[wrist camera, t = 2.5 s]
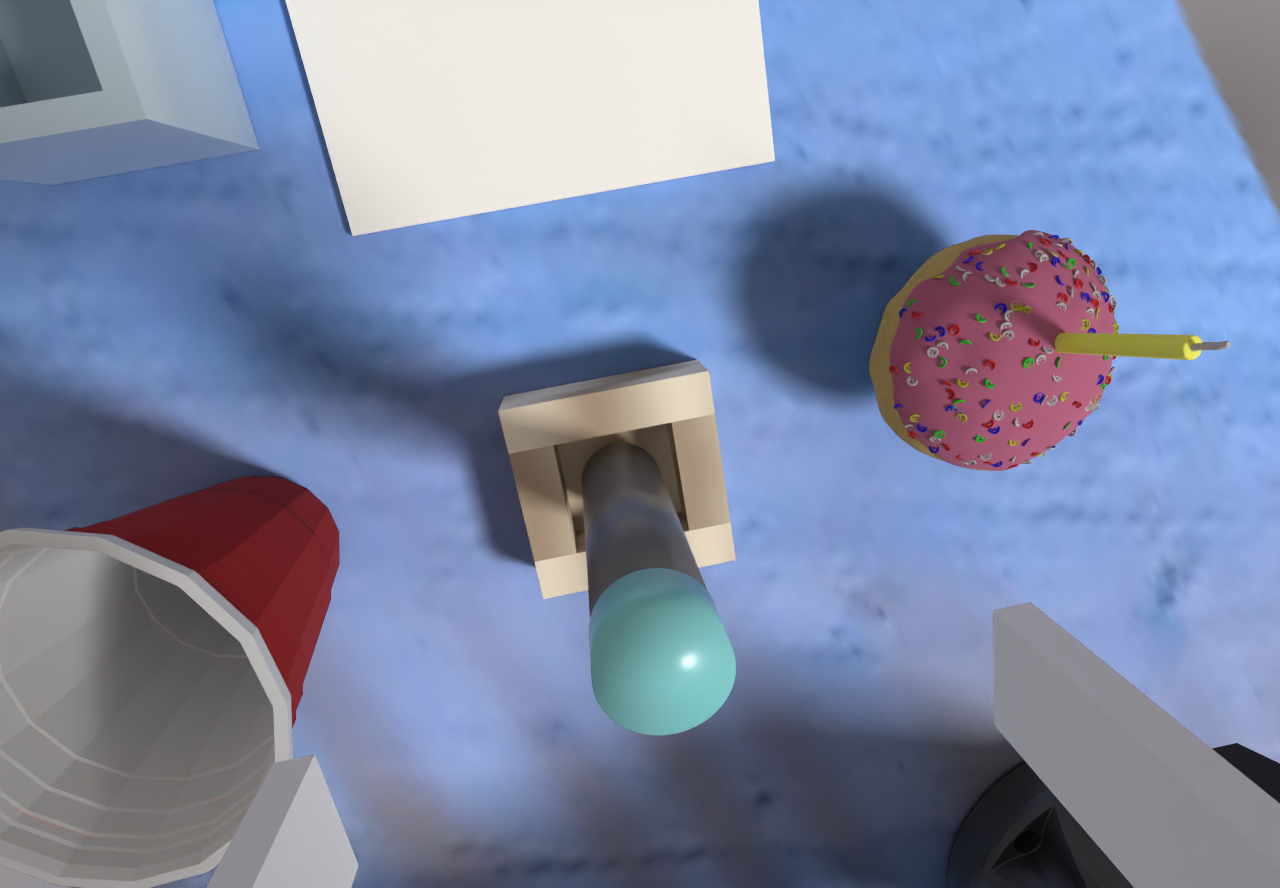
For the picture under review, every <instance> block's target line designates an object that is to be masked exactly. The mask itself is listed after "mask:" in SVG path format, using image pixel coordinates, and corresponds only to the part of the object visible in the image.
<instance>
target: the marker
mask: <svg viewBox="0 0 1280 888" xmlns="http://www.w3.org/2000/svg"><path fill="white" fill-rule="evenodd" d="M582 497H583V513H584V529H585V545H586V561H587V577H588V593H589V609H590V622H589V641H590V658H591V676H592V686H593V691H594V694H595V697H596V699H597V701H598V703H599V705H600V707H601V708H602V710H603V711H604V712H605V713H606V714H607V715H608V716H609V718H611V719H612V720H613V721H614V722H616V723H617V724H619V725H620V726H622V727H624V728H626V729H628V730H631V731H634V732H637V733H641V734H647V735H670V734H676V733H680V732H683V731H686V730H689V729H691V728H694V727H696V726H697V725H699V724H701V723H703V722H704V721H706V720H707V719H709V718H710V717H711V716H712V715H713V714H715V713H716V712H717V711H718V709H719V708H720V707H721V706H722V705H723V703H724V702H725V701H726V699H727V698H728V696H729V694H730V692H731V689H732V687H733V684H734V680H735V676H736V659H735V655H734V651H733V648H732V646H731V643H730V641H729V638H728V636H727V633H726V631H725V628H724V626H723V623H722V621H721V619H720V616H719V614H718V611H717V609H716V606H715V604H714V601H713V599H712V597H711V595H710V594H709V592H708V591H707V589H706V586H705V584H704V581H703V579H702V576H701V574H700V571H699V569H698V566H697V563H696V561H695V558H694V556H693V553H692V551H691V548H690V546H689V543H688V541H687V538H686V536H685V533H684V531H683V528H682V526H681V523H680V521H679V518H678V515H677V513H676V510H675V508H674V505H673V503H672V500H671V498H670V495H669V493H668V490H667V488H666V485H665V483H664V480H663V478H662V475H661V473H660V470H659V467H658V465H657V463H656V461H655V459H654V458H653V457H652V456H651V455H650V454H649V453H648V452H647V451H646V450H644V449H643V448H641V447H639V446H637V445H634V444H630V443H614V444H610V445H607V446H605V447H603V448H601V449H599V450H598V451H597V452H595V453H594V454H593V455H592V456H591V457H590V459H589V460H588V461H587V463H586V465H585V467H584V470H583V473H582Z"/></svg>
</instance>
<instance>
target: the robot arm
mask: <svg viewBox="0 0 1280 888" xmlns="http://www.w3.org/2000/svg"><path fill="white" fill-rule="evenodd" d="M993 660H994V725H995V727H996V728H997V729H998V730H999V731H1000V732H1001V734H1002V735H1003V736H1004V737H1005V738H1006V739H1007V741H1008V742H1009V743H1010V744H1011V745H1012V746H1013V748H1014V749H1015V750H1016V751H1017V752H1018V753H1019V755H1020V756H1021V757H1022V758H1023V759H1024V760H1025V761H1026V762H1025V763H1024V764H1022V765H1021V766H1019V767H1018V768H1016V769H1015V770H1013V771H1012V772H1010V773H1009V774H1008V775H1006V776H1005V777H1004V778H1003V779H1001V780H1000V781H999V782H998V783H997V784H996V785H994V786H993V787H992V788H991V789H990V790H989V791H988V792H987V793H986V794H985V795H984V796H983V798H982V799H981V800H980V801H979V802H978V803H977V805H976V806H975V807H974V808H973V810H972V811H971V813H970V814H969V815H968V817H967V819H966V820H965V822H964V823H963V825H962V827H961V829H960V831H959V833H958V835H957V837H956V840H955V842H954V845H953V848H952V852H951V855H950V861H949V867H948V885H949V888H1280V764H1279V763H1277V762H1275V761H1273V760H1271V759H1269V758H1267V757H1265V756H1263V755H1261V754H1259V753H1257V752H1254V751H1252V750H1250V749H1248V748H1246V747H1244V746H1242V745H1240V744H1238V743H1235V744H1230V745H1226V746H1222V747H1217V748H1213V749H1212V748H1210V747H1209V746H1208V745H1207V744H1205V743H1204V742H1203V741H1202V740H1200V739H1199V738H1198V737H1197V736H1196V735H1194V734H1193V733H1192V732H1191V731H1189V730H1188V729H1187V728H1186V727H1184V726H1183V725H1182V724H1181V723H1179V722H1178V721H1177V720H1176V719H1174V718H1173V717H1172V716H1171V715H1170V714H1168V713H1167V712H1166V711H1165V710H1163V709H1162V708H1161V707H1160V706H1158V705H1157V704H1156V703H1155V702H1153V701H1152V700H1151V699H1150V698H1148V697H1147V696H1146V695H1145V694H1144V693H1142V692H1141V691H1140V690H1139V689H1137V688H1136V687H1135V686H1134V685H1132V684H1131V683H1130V682H1129V681H1127V680H1126V679H1125V678H1124V677H1123V676H1121V675H1120V674H1119V673H1118V672H1116V671H1115V670H1114V669H1113V668H1111V667H1110V666H1109V665H1108V664H1106V663H1105V662H1104V661H1103V660H1101V659H1100V658H1099V657H1098V656H1097V655H1095V654H1094V653H1093V652H1092V651H1090V650H1089V649H1088V648H1087V647H1085V646H1084V645H1083V644H1082V643H1080V642H1079V641H1078V640H1077V639H1076V638H1074V637H1073V636H1072V635H1071V634H1069V633H1068V632H1067V631H1066V630H1064V629H1063V628H1062V627H1061V626H1059V625H1058V624H1057V623H1056V622H1054V621H1053V620H1052V619H1051V618H1050V617H1048V616H1047V615H1046V614H1045V613H1043V612H1042V611H1041V610H1040V609H1038V608H1037V607H1036V606H1035V605H1033V604H1032V603H1031V602H1029V603H1025V604H1020V605H1015V606H1010V607H1006V608H1001V609H996V610H993ZM358 866H359V865H358V862H357V860H356V857H355V855H354V852H353V850H352V847H351V845H350V842H349V840H348V837H347V834H346V832H345V829H344V827H343V824H342V822H341V819H340V817H339V814H338V812H337V809H336V807H335V804H334V802H333V799H332V796H331V794H330V791H329V789H328V786H327V784H326V781H325V779H324V776H323V774H322V771H321V769H320V766H319V763H318V761H317V758H316V756H315V754H313V755H309V756H304V757H299V758H294V759H290V760H285V761H280V762H276V763H273V764H272V766H271V768H270V770H269V772H268V774H267V776H266V777H265V779H264V781H263V783H262V785H261V787H260V789H259V790H258V792H257V794H256V796H255V798H254V800H253V802H252V803H251V805H250V807H249V809H248V811H247V813H246V814H245V816H244V818H243V820H242V822H241V824H240V826H239V827H238V829H237V831H236V833H235V835H234V837H233V839H232V840H231V842H230V844H229V846H228V848H227V850H226V852H225V853H224V855H223V857H222V859H221V861H220V863H219V865H218V866H217V868H216V870H215V872H214V874H213V876H212V878H211V879H210V881H209V883H208V885H207V887H206V888H352V884H353V881H354V878H355V875H356V872H357V869H358Z"/></svg>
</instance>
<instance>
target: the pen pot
mask: <svg viewBox="0 0 1280 888" xmlns="http://www.w3.org/2000/svg"><path fill="white" fill-rule="evenodd" d="M255 150H260V149H259V146H258V143H257V139H256V136H255V133H254V130H253V127H252V124H251V120H250V117H249V114H248V111H247V108H246V104H245V101H244V98H243V95H242V92H241V88H240V85H239V82H238V79H237V76H236V72H235V69H234V66H233V63H232V60H231V56H230V53H229V50H228V47H227V44H226V40H225V37H224V34H223V31H222V28H221V24H220V21H219V18H218V15H217V12H216V8H215V5H214V2H213V0H0V180H7V181H18V182H28V183H39V184H49V185H56V184H62V183H68V182H74V181H80V180H86V179H91V178H97V177H103V176H109V175H115V174H121V173H126V172H132V171H138V170H144V169H150V168H156V167H161V166H167V165H173V164H179V163H185V162H191V161H197V160H202V159H208V158H214V157H220V156H226V155H232V154H237V153H243V152H249V151H255Z"/></svg>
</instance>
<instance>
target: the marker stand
mask: <svg viewBox="0 0 1280 888" xmlns="http://www.w3.org/2000/svg"><path fill="white" fill-rule="evenodd" d="M498 412H499V417H500V421H501V425H502V429H503V433H504V437H505V441H506V446H507V450H508V454H509V458H510V462H511V466H512V470H513V475H514V479H515V483H516V487H517V491H518V495H519V499H520V503H521V508H522V512H523V516H524V520H525V524H526V528H527V532H528V537H529V541H530V545H531V549H532V553H533V557H534V561H535V566H536V570H537V574H538V578H539V582H540V586H541V590H542V595H543V599H547V598H551V597H556V596H561V595H566V594H571V593H576V592H581V591H586V590H588V577H587V561H586V545H585V529H584V513H583V497H582V473H583V470H584V467H585V465H586V463H587V461H588V460H589V459H590V457H591V456H592V455H593V454H594V453H595V452H597V451H598V450H599V449H601V448H603V447H605V446H607V445H610V444H614V443H630V444H634V445H637V446H639V447H641V448H643V449H644V450H646V451H647V452H648V453H649V454H650V455H651V456H652V457H653V458H654V459H655V461H656V463H657V465H658V467H659V470H660V473H661V475H662V478H663V480H664V483H665V485H666V488H667V490H668V493H669V495H670V498H671V500H672V503H673V505H674V508H675V510H676V513H677V515H678V518H679V521H680V523H681V526H682V528H683V531H684V533H685V536H686V538H687V541H688V543H689V546H690V548H691V551H692V553H693V556H694V558H695V561H696V563H697V566H698V568H699V567H704V566H709V565H714V564H719V563H724V562H729V561H733V560H736V557H735V550H734V543H733V536H732V529H731V522H730V515H729V509H728V502H727V495H726V488H725V481H724V474H723V467H722V460H721V453H720V446H719V439H718V432H717V425H716V418H715V411H714V404H713V397H712V390H711V383H710V376H709V371H708V370H707V369H706V368H705V367H704V366H703V365H702V364H701V363H700V362H699V361H698V360H692V361H687V362H681V363H676V364H671V365H665V366H660V367H655V368H650V369H644V370H639V371H634V372H629V373H623V374H618V375H613V376H607V377H602V378H597V379H592V380H586V381H581V382H576V383H571V384H565V385H560V386H555V387H549V388H544V389H539V390H534V391H528V392H523V393H518V394H513V395H507V396H504V397H503V400H502V403H501V405H500V408H499V410H498Z"/></svg>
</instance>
